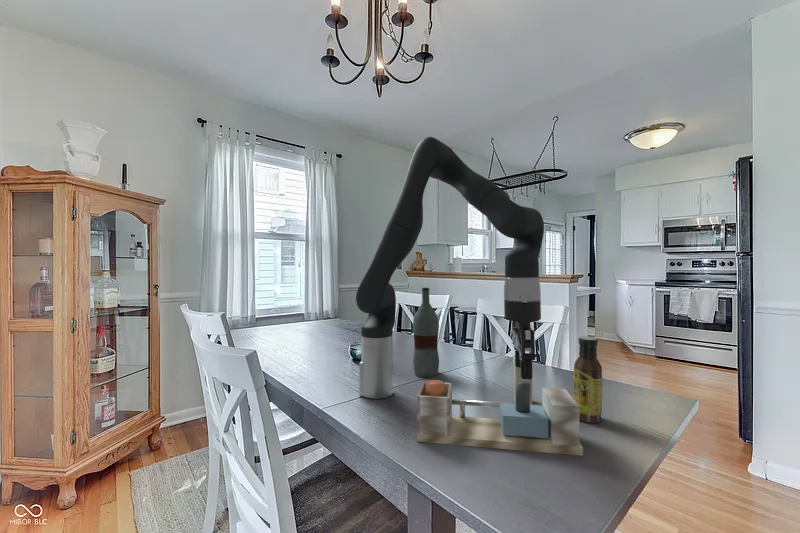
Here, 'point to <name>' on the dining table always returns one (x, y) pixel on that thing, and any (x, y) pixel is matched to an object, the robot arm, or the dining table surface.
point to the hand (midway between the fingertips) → (523, 372)
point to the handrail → (476, 404)
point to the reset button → (435, 388)
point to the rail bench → (499, 425)
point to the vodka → (425, 339)
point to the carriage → (523, 415)
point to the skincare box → (519, 379)
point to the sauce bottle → (588, 381)
